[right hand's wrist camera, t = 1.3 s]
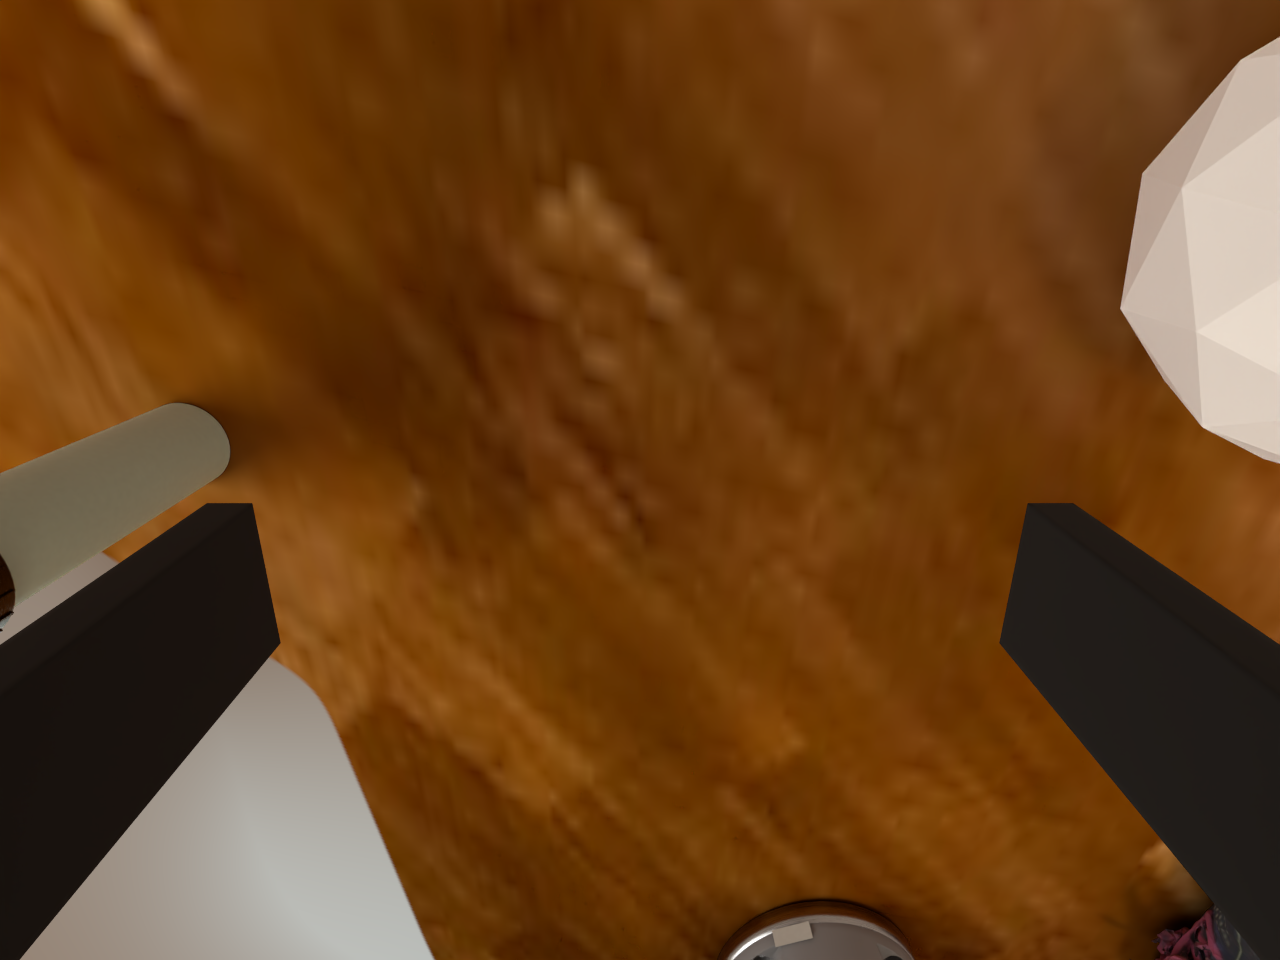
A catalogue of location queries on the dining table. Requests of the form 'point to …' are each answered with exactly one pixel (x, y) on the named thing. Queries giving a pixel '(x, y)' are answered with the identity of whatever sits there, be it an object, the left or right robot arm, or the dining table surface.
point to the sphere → (1216, 259)
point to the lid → (6, 593)
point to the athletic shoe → (1205, 940)
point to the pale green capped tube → (103, 490)
